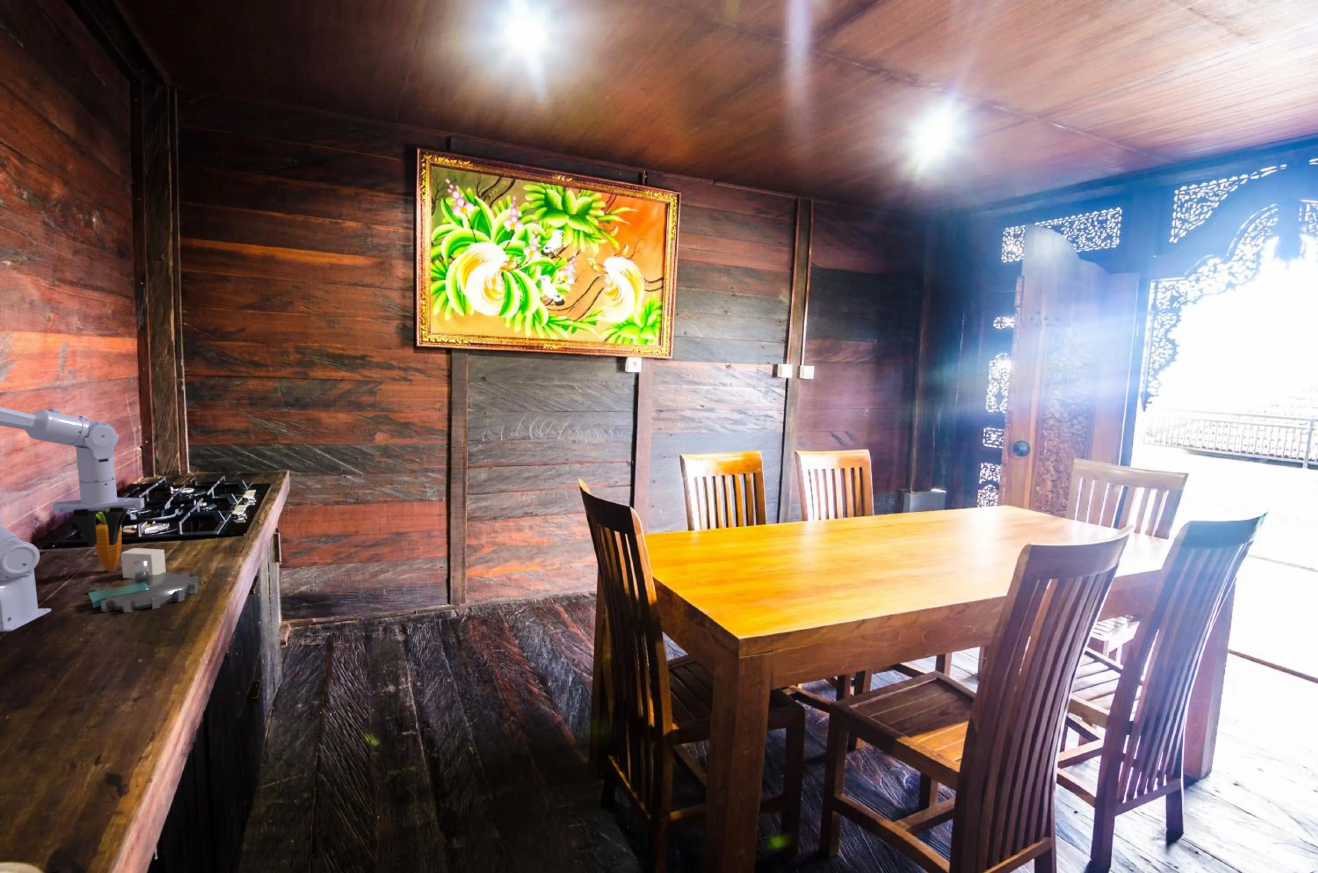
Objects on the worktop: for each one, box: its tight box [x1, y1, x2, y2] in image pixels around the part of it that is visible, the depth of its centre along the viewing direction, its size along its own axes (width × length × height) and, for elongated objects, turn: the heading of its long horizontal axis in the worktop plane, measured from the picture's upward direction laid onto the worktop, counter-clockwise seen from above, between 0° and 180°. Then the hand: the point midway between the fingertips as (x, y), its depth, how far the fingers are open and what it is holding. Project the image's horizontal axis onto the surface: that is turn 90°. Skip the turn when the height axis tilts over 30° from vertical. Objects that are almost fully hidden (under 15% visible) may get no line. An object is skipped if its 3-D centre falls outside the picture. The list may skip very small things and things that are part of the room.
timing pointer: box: [87, 586, 106, 595], centre depth 139 cm, size 3×1×1 cm, turn 86°
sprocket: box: [88, 559, 200, 614], centre depth 138 cm, size 17×17×6 cm
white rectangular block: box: [120, 547, 167, 579], centre depth 149 cm, size 7×4×6 cm, turn 86°
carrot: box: [94, 510, 123, 573], centre depth 150 cm, size 5×5×15 cm
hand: (103, 544), depth 138 cm, fingers open, 3 cm apart
